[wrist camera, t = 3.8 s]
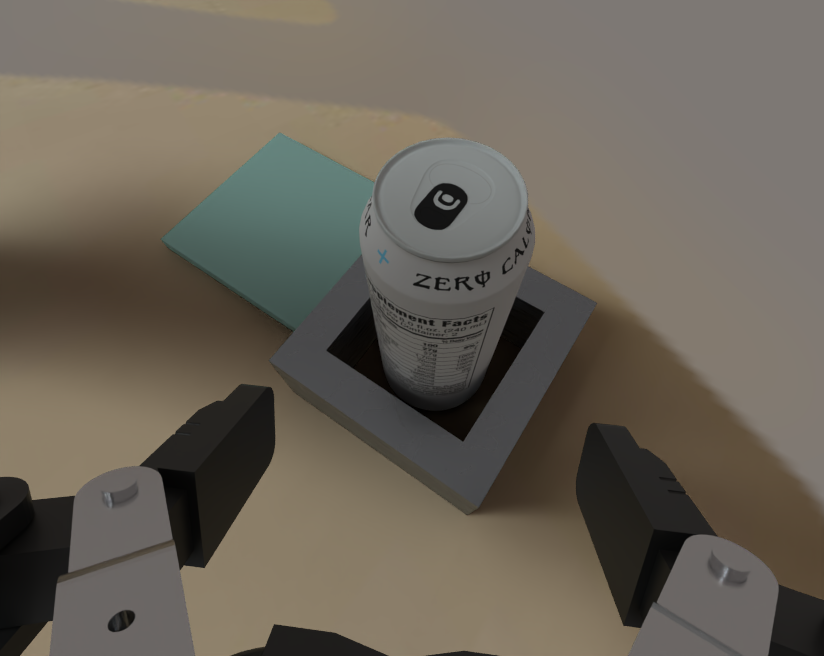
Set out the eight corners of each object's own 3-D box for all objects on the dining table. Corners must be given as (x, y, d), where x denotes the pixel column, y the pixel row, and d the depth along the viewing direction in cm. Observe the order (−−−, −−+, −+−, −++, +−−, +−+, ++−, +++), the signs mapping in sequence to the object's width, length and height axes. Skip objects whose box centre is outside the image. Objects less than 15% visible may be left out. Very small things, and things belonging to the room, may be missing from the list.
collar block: (293, 391, 27) (268, 360, 23) (408, 252, 31) (407, 202, 27) (467, 515, 24) (478, 507, 20) (568, 341, 28) (597, 302, 24)
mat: (168, 247, 32) (160, 239, 31) (283, 142, 36) (279, 132, 35) (300, 336, 29) (296, 329, 28) (409, 210, 33) (408, 200, 32)
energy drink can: (502, 353, 28) (581, 172, 14) (449, 435, 26) (485, 313, 12) (420, 305, 29) (422, 100, 16) (364, 379, 27) (312, 215, 14)
